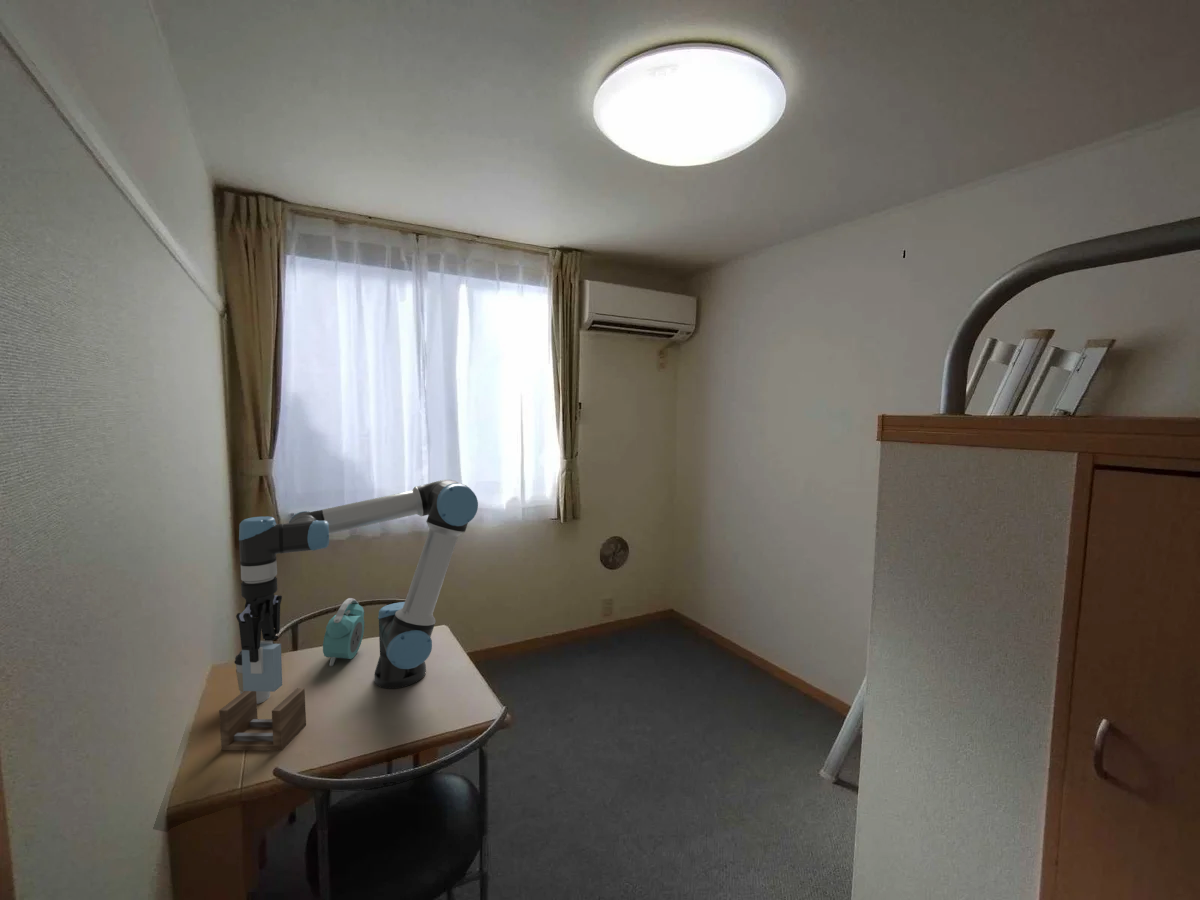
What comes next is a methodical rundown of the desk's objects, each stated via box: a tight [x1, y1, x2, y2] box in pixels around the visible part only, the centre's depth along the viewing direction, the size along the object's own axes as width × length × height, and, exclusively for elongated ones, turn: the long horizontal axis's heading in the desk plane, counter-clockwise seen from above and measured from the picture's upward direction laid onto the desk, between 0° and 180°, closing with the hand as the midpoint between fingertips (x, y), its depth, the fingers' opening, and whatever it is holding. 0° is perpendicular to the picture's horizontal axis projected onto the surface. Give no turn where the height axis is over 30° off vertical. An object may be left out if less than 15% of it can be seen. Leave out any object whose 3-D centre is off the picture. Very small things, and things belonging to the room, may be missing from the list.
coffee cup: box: [233, 650, 271, 705], centre depth 144 cm, size 9×9×15 cm
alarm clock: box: [322, 597, 365, 667], centre depth 168 cm, size 17×10×20 cm, turn 5°
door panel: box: [241, 642, 283, 693], centre depth 126 cm, size 8×3×11 cm, turn 89°
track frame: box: [218, 687, 307, 751], centre depth 127 cm, size 15×10×10 cm, turn 89°
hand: (262, 668), depth 126 cm, fingers closed on door panel, 3 cm apart
